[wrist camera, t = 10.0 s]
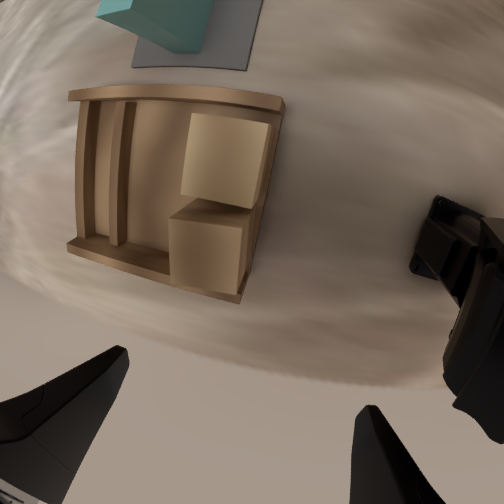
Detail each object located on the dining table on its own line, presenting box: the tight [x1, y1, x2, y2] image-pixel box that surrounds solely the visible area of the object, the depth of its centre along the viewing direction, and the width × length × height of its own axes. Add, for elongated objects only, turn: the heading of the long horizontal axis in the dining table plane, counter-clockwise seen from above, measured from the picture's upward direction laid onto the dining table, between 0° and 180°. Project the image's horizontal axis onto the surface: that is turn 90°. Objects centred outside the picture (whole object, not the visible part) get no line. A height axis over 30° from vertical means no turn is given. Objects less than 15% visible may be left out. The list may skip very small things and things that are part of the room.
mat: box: [131, 0, 263, 71], centre depth 13 cm, size 9×12×1 cm
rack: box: [67, 84, 285, 304], centre depth 17 cm, size 15×13×4 cm
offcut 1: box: [181, 113, 275, 209], centre depth 15 cm, size 4×4×4 cm
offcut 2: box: [168, 198, 256, 295], centre depth 17 cm, size 4×4×5 cm
